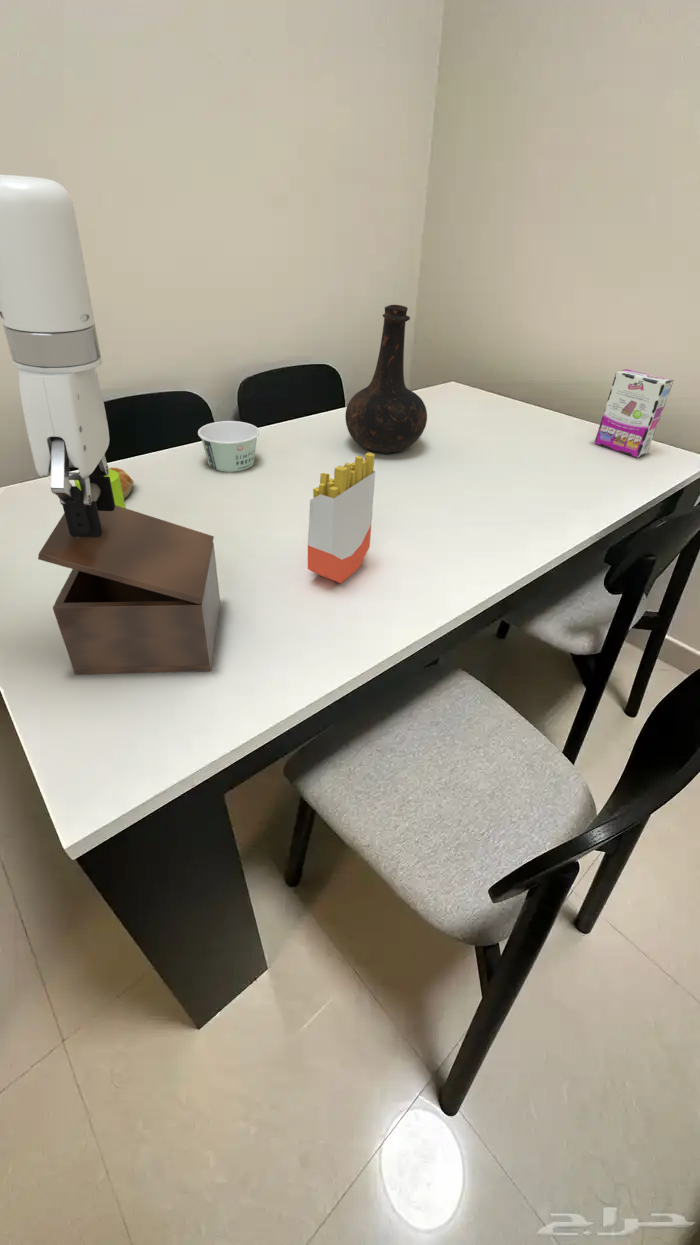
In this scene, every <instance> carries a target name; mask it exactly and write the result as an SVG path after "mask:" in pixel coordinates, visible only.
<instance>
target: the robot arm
mask: <svg viewBox="0 0 700 1245" xmlns="http://www.w3.org/2000/svg"><path fill="white" fill-rule="evenodd" d="M87 277H88V276H87V271H86V266H85V259H84V254H83V249H82V243H81V237H80V233H79V227H78V221H77V216H76V211H75V206H74V202H73V200H72V197H71V195H70V193H69V192H68V190H67V189H66V188H65V187H64V185H62V184H61V183H59V182H57V181H55V180H52V179H50V178H49V179H48V178H44V177H39V176H37V177H36V176H27V175H16V174H0V319H1V323H2V327H3V330H4V334H5V338H6V341H7V346H8V349H9V353H10V357H11V360H12V364H13V366H14V367H15V368H16V369H18V372H17V373H18V374H17V375H18V384H19V394H20V401H21V407H22V414H23V418H24V423H25V429H26V433H27V438H28V442H29V447H30V451H31V456H32V459H33V464H34V467H35V471H36V473H37V474H38V476H40V477H41V478H47V477H48V476H49V475H50V492H51V493H52V494H53V495H55V496H57V497H58V498H59V503H60V505H61V506H62V509H63V514H64V513H65V517H66V521H67V525H68V529H69V533H70V535H71V536H73V537H100V536H101V535H102V528H101V523H100V519H99V514H98V511H113V510H114V509H115V502H114V497H113V492H112V487H111V482H110V477H104V476H108V474H109V468H110V467H109V465H108V461H107V459H106V458H107V457H106V454H107V453H106V452H107V451H108V449H109V446H110V429H109V424H108V416H107V413H106V408H105V407H106V406H105V402H104V398H103V394H102V389H101V384H100V381H99V377H98V373H97V368H98V367H99V366H100V365H101V364H102V362H103V361H102V360H103V359H102V355H101V351H100V350H101V349H100V344H99V339H98V334H97V328H96V323H95V318H94V310H93V306H92V301H91V294H90V289H89V283H88V278H87ZM104 454H105V455H104ZM70 468H77V469H78V472H73V471H71V472H70ZM74 480H79V483H80V488H81V490H80V489H79V488H78V487H77V486H76V485H72V483H71V482H70V481H74ZM90 483H94V484H96V485H98V486H99V488H100V490H101V494H100V496H99V498H98V499H97V501H92V498H91V489H90Z"/></svg>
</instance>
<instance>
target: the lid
mask: <svg viewBox="0 0 700 1245" xmlns="http://www.w3.org/2000/svg"><path fill="white" fill-rule="evenodd" d="M90 489H91V498H92V501H97V499H98V498H99V496H100V494H101V490H100V488H99V486H98V485H96V484H94V483H90ZM98 514H99V519H100V523H101V528H102V535H101V536H100V537H73V536H71V535H70V533H69V529H68V525H67V521H66V517H65V513H64V512H63V514H62V516H61V518H60V519H59V520H58V522H57V524H56V526H55V527H54V528H53V529H52V531H51V533H50V535H49V537H48V538H47V540H46V542H45V543H44V544H43V546H42V548H41V549H40V551H39V553H38V558H37V559H38V560H39V561H43V562H45V563H50V564H54V565H56V566H60V567H64V568H66V569H67V568H68V569H71V570H72V569H75V570H78V571H82V572H85V573H89V574H93V575H96V576H100V577H103V578H107V579H111V580H114V581H118V582H121V583H125V584H129V585H132V586H136V587H139V588H143V589H146V590H150V591H154V592H157V593H161V594H164V595H168V596H172V597H175V598H179V599H182V600H186V601H190V602H193V603H197V604H201V601H202V597H203V592H204V587H205V581H206V576H207V571H208V565H209V560H210V555H211V549H212V544H213V543H214V538H215V536H214V535H211V534H208V533H205V532H201V531H198V530H195V529H192V528H189V527H186V526H183V525H179V524H176V523H173V522H169V521H167V520H163V519H160V518H157V517H154V516H151V515H148V514H145V513H141V512H138V511H135V510H132V509H130V508H127V507H126V508H123V507H120V506H117V505H115V509H114V510H113V511H98Z"/></svg>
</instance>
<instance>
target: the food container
mask: <svg viewBox="0 0 700 1245" xmlns="http://www.w3.org/2000/svg"><path fill="white" fill-rule="evenodd" d="M197 435H198V437H199V438H200V439H201V443H202V446H203V449H204V453H205V456H206V460H207V463H208V465H209V467H210V468H212V469H213V470H215V471H219V472H227V473H228V472H229V473H232V472H241V471H246V470H247V469H250V468H252V467H253V466H254V464H255V457H256V449H257V440H258V436H259V435H260V429H259V428H258V427H257V426H256V425H254V424H251V423H250V422H249V423H248V422H244V421H240V420H239V421H238V420H222V421H221V420H220V421H214V422H210V423H207V424H205V425H202V426H201V427H200V428H199V429H198V431H197Z"/></svg>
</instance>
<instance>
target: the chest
mask: <svg viewBox="0 0 700 1245" xmlns="http://www.w3.org/2000/svg"><path fill="white" fill-rule="evenodd" d="M215 553H216V552H215V545H214V542H213V544H212V549H211V555H210V560H209V565H208V571H207V576H206V581H205V587H204V592H203V597H202V601H201V604H197V603H193V602H190V601H186V600H182V599H179V598H175V597H172V596H168V595H164V594H161V593H157V592H154V591H150V590H146V589H143V588H139V587H136V586H132V585H129V584H125V583H121V582H118V581H114V580H111V579H107V578H103V577H100V576H96V575H93V574H89V573H85V572H82V571H78V570H75V569H71V571H70V573H69V575H68V577H67V579H66V581H65V582H64V585H63V586H62V588H61V590H60V592H59V594H58V596H57V598H56V600H55V602H54V604H53V606H52V611H53V613H54V616H55V619H56V622H57V625H58V628H59V631H60V634H61V636H62V640H63V644H64V646H65V650H66V652H67V655H68V658H69V662H70V664H71V666H72V671H73V673H74V675H107V674H109V675H110V674H111V675H113V674H145V673H147V674H148V673H185V672H211V671H212V664H213V658H214V650H215V645H216V639H217V638H216V636H217V629H218V624H219V615H220V610H221V598H220V596H221V595H220V586H219V579H218V571H217V569H218V568H217V561H216V554H215Z"/></svg>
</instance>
